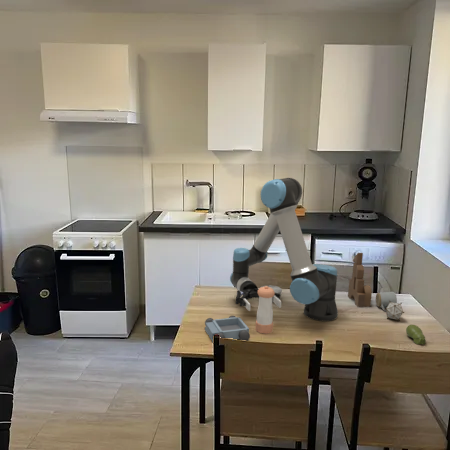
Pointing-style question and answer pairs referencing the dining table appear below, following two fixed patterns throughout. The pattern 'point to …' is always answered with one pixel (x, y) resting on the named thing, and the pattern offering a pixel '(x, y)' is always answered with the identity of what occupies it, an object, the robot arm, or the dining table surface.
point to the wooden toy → (359, 284)
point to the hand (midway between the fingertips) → (265, 305)
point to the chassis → (227, 328)
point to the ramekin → (275, 288)
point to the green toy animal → (416, 334)
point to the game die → (394, 310)
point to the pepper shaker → (265, 310)
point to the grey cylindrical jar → (385, 299)
